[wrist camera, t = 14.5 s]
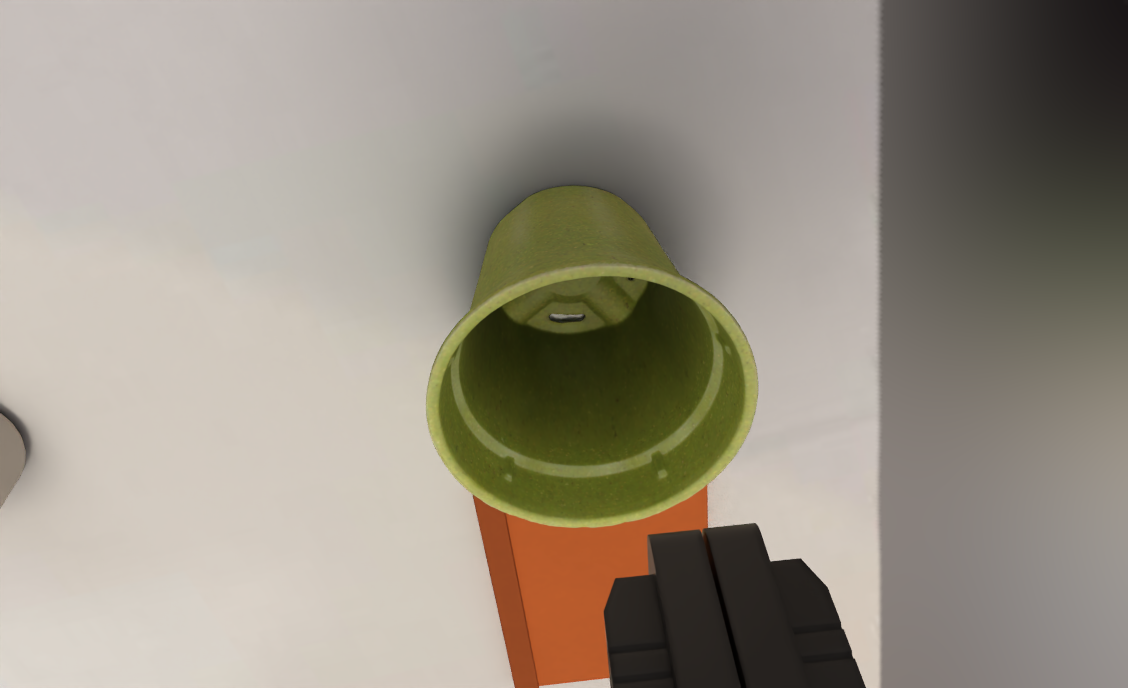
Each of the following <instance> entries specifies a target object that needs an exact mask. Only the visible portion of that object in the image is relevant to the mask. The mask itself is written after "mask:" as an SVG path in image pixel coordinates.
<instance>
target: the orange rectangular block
mask: <svg viewBox="0 0 1128 688" xmlns="http://www.w3.org/2000/svg"><path fill="white" fill-rule="evenodd" d="M473 499H474V503H475V508H476V512H477V517H478V521H479V526H480V530H481V535H482V540H483V544H484V549H485V553H486V558H487V562H488V567H489V571H490V576H491V581H492V585H493V590H494V594H495V599H496V603H497V608H498V612H499V617H500V622H501V626H502V631H503V635H504V640H505V644H506V649H507V653H508V658H509V663H510V667H511V672H512V676H513V681H514V685H515V688H539V686H543V685H551V684H560V683H569V682H577V681H586V680H594V679H603V678H610V676H609V665H608V655H607V644H606V633H605V622H604V609H605V606H606V603H607V600H608V597H609V594H610V591H611V589H612V586H613V583H614V580H615V578H623V577H633V576H642V575H649V573H648V550H647V535H650V534H660V533H669V532H679V531H688V530H697V529H699V530H700V531H701V533H702V530H703V529H704V528H708V512H707V485H706V486H705V487H704V488H703V489H701V490H700V491H698V492H697V493H696V494H694V495H693V496H691V497H690V498H688V499H686V500H684V501H682V502H680V503H678V504H676V505H674V506H672V507H670V508H668V509H666V510H664V511H662V512H660V513H658V514H655V515H652V516H650V517H647V518H644V519H640V520H635V521H630V522H624V523H621V524H617V525H613V526H604V527H596V528H590V527H579V528H568V527H556V526H548V525H544V524H539V523H536V522H531V521H528V520H525V519H522V518H519V517H517V516H513V515H509V514H507V513H505V512H502V511H500V510H498V509H496V508H494V507H491V506H489V505H488V504H486V503H484V502H483V501H482V500H481V499H479V498H477V497H476V496H474V495H473Z"/></svg>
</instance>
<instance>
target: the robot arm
mask: <svg viewBox="0 0 1128 688" xmlns="http://www.w3.org/2000/svg"><path fill="white" fill-rule="evenodd" d="M647 550H648V573H649V575H642V576H633V577H623V578H615V580H614V583H613V586H612V589H611V591H610V594H609V597H608V600H607V603H606V606H605V609H604V622H605V633H606V644H607V655H608V665H609V676H610V685H611V688H866V687H865V684H864V682H863V679H862V676H861V674H860V671H859V668H858V666H857V663H856V661H855V659H853V656H852V650H851V648H850V645H849V642H848V640H847V637H846V634H845V632H844V629H842V627H841V621H840V619H839V616H838V613H837V611H836V608H835V606H834V603H833V600H832V598H831V595H830V593H829V590H828V587H827V586H826V585H825V584H824V583H823V582H822V581H821V580H820V579H819V578H818V577H817V576H816V574H815V573H814V572H813V571H812V570H811V569H810V568H809V567H808V566H807V565H806V564H805V563H804V562H803V561H802V559H801V558H800V559H790V560H781V561H772V562H770V559H769V556H768V553H767V550H766V547H765V544H764V541H763V538H762V535H761V532H760V530H759V527H758V526H757V524H756V523H752V524H742V525H733V526H723V527H714V528H704V529H703V530H702V533H701V531H700V530H699V529H697V530H688V531H679V532H669V533H660V534H650V535H647Z"/></svg>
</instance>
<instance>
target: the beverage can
mask: <svg viewBox="0 0 1128 688" xmlns="http://www.w3.org/2000/svg"><path fill="white" fill-rule="evenodd" d="M25 460H26V451H25V447H24V444H23V440H22V437H21V435H20V433H19V432H18V430H17V429H16V428H15V426H14V425H13V423H12V422H11V421H9V420H8V419H7V418H6V417H5V416H4V415H2V414H1V413H0V508H1V507H2V505H3V503H4V502H5V500H6V499H7V497H8V495H9V494H10V492H11V490H12V489H13V487H14V486H15V484H16V482H17V481H18V479H19V477H20V476H21V474H22V471H23V469H24V466H25Z"/></svg>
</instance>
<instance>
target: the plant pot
mask: <svg viewBox="0 0 1128 688" xmlns="http://www.w3.org/2000/svg"><path fill="white" fill-rule="evenodd" d="M627 277H628V278H634V279H633V280H629V279H628V278H627ZM551 314H564V315H570V314H571V315H574V314H575V315H578V314H584V315H585V316H586V317H584V319H583V320H582V321H576V322H566V323H560V322H554V321H551V320H550V318H549V316H550V315H551ZM757 397H758V375H757V369H756V364H755V360H754V356H753V353H752V350H751V348H750V345H749V343H748V341H747V338H746V336H745V334H744V332H743V331H742V329H741V327H740V325H739V324H738V323H737V321H736V320H735V318H734V317H733V316H732V314H731V313H730V312H729V311H728V310H727V309H726V307H725V306H724V305H723V304H722V303H721V302H720V301H719V300H718V299H716V298H715V297H714V296H713V295H712V294H710V293H709V292H707V291H706V290H705V289H703V288H702V287H700V286H699V285H697V284H695V283H694V282H692V281H690V280H688V279H687V278H685V277H682V276H680V274H679V273H678V271H677V270H676V268H675V267H674V266H673V264H672V263H671V261H670V260H669V258H668V257H667V255H666V254H665V252H664V251H663V249H662V248H661V246H660V244H659V243H658V241H657V240H656V238H655V236H654V235H653V233H652V232H651V230H650V229H649V227H648V226H647V224H646V222H645V221H644V220H643V219H642V217H641V216H640V215H639V214H638V213H637V212H636V211H635V210H634V209H633V208H632V207H630V206H629V205H628V204H627V203H626V202H624V201H623V200H622V199H620V198H619V197H617V196H615V195H613V194H611V193H609V192H607V191H604V190H601V189H597V188H592V187H587V186H561V187H554V188H550V189H546V190H543V191H540V192H537V193H535V194H533V195H531V196H529V197H528V198H526V199H525V200H524V201H523V202H522V203H520V204H519V205H518V206H517V207H516V208H514V209H513V210H512V211H511V212H510V213H509V214H507V215H506V216H505V217H504V218H503V219H502V220H501V221H500V222H499V223H498V225H497V226H496V228H495V229H494V231H493V233H492V235H491V237H490V240H489V242H488V246H487V250H486V254H485V257H484V261H483V265H482V268H481V272H480V276H479V280H478V283H477V287H476V290H475V294H474V297H473V301H472V304H471V308H470V311H469V312H468V313H467V314H466V315H465V316H464V317H463V318H462V319H461V320H460V321H459V322H458V323H457V325H456V326H455V327H454V328H453V330H452V331H451V332H450V333H449V335H448V336H447V338H446V339H445V341H444V343H443V344H442V346H441V348H440V350H439V352H438V354H437V356H436V359H435V361H434V364H433V366H432V370H431V373H430V378H429V383H428V388H427V395H426V415H427V421H428V428H429V432H430V435H431V439H432V441H433V444H434V446H435V449H436V450H437V452H438V454H439V456H440V457H441V459H442V461H443V462H444V464H445V465H446V467H447V468H448V469H449V471H450V472H451V474H452V475H453V476H454V477H455V479H456V480H457V481H458V482H459V483H460V484H462V485H463V486H464V487H465V488H466V489H467V490H468V491H469V492H471V493H472V494H473V495H474V496H476V497H477V498H479V499H481V500H482V501H483V502H484V503H486V504H488V505H489V506H491V507H494V508H496V509H498V510H500V511H502V512H505V513H507V514H509V515H513V516H517V517H519V518H522V519H525V520H528V521H531V522H536V523H539V524H544V525H548V526H556V527H568V528H579V527H590V528H596V527H604V526H613V525H617V524H621V523H624V522H630V521H635V520H640V519H644V518H647V517H650V516H652V515H655V514H658V513H660V512H662V511H664V510H666V509H668V508H670V507H672V506H674V505H676V504H678V503H680V502H682V501H684V500H686V499H688V498H690V497H691V496H693V495H694V494H696V493H697V492H698V491H700V490H701V489H703V488H704V487H705V486H706V485H707V484H709V483H710V482H711V481H712V480H714V479H715V478H716V477H717V476H718V475H719V474H720V473H721V472H722V471H723V470H724V469H725V468H726V466H727V465H728V464H729V463H730V462H731V461H732V459H733V458H734V456H735V455H736V454H737V452H738V451H739V449H740V448H741V446H742V444H743V442H744V440H745V439H746V437H747V435H748V433H749V430H750V428H751V425H752V422H753V418H754V415H755V410H756V405H757Z"/></svg>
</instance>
